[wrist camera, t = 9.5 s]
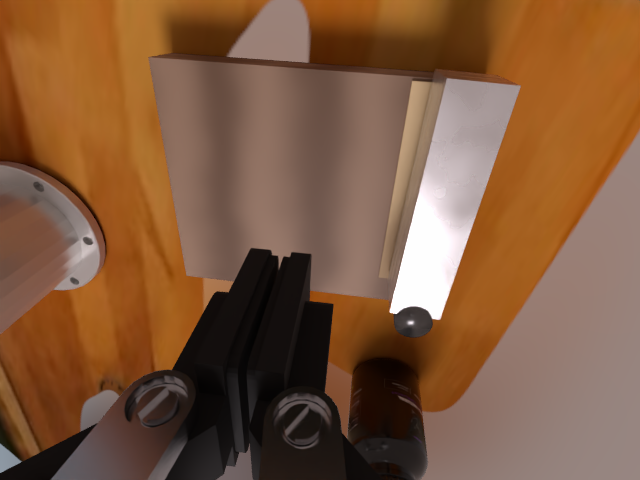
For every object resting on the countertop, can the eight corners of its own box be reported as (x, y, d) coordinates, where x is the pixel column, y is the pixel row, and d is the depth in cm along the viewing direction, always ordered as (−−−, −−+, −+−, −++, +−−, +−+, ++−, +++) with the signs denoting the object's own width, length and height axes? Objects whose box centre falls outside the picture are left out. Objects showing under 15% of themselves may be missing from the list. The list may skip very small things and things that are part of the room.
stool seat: (201, 255, 32) (185, 277, 30) (172, 53, 24) (146, 57, 21) (430, 281, 31) (435, 307, 28) (485, 75, 22) (501, 83, 20)
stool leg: (426, 300, 27) (433, 340, 24) (383, 294, 28) (385, 333, 24) (495, 74, 19) (522, 86, 16) (434, 68, 19) (447, 79, 16)
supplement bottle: (425, 361, 36) (447, 498, 26) (409, 404, 39) (422, 538, 29) (356, 350, 36) (349, 480, 26) (346, 393, 40) (337, 522, 30)
